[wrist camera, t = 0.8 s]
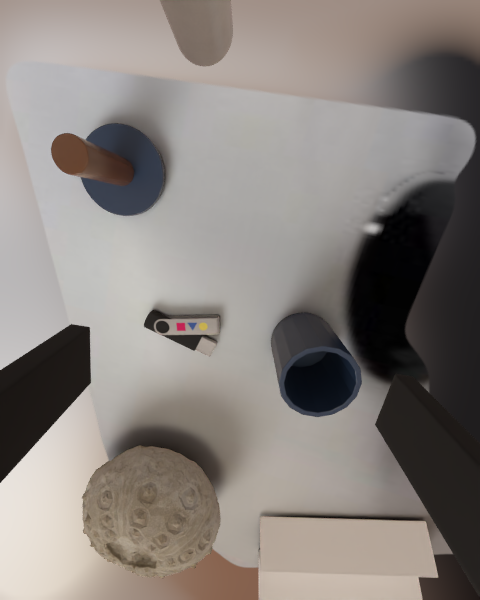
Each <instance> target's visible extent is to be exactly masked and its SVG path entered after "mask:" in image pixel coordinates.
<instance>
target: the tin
mask: <svg viewBox="0 0 480 600" xmlns="http://www.w3.org/2000/svg"><path fill="white" fill-rule="evenodd" d="M271 347H272V352H273V357H274V362H275V367H276V373H277V378H278V383H279V388H280V393H281V396H282V398H283V399H284V401H285V402H286V403H287V405H288V406H289V407H290V408H292V409H293V410H295V411H297V412H299V413H301V414H303V415H308V416H315V417H320V416H326V415H332V414H335V413H337V412H338V411H340V410H342V409H344V408H346V407H347V406H348V405H349V404H350V403H351V402H352V401H353V400H354V399H355V398H356V397H357V394H358V392H359V389H360V386H361V384H362V380H361V370H360V367H359V366H358V364H357V363H356V361H355V360H354V358H353V357H352V355H351V354H350V353H349V351H348V350H347V349H346V347H345V346H344V345H343V343H342V342H341V341H340V339H339V338H338V336H337V335H336V334H335V332H334V331H333V330H332V328H331V327H330V326H329V324H328V323H327V322H326V321H325V320H323V319H322V318H321V317H319V316H317V315H314V314H311V313H297V314H293V315H290V316H288V317H286V318H285V319H283V320H282V321H281V322H280V323H279V324H278V325H277V326H276V328H275V329H274V332H273V334H272V338H271Z"/></svg>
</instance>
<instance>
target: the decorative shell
mask: <svg viewBox="0 0 480 600" xmlns="http://www.w3.org/2000/svg"><path fill="white" fill-rule="evenodd" d="M82 498H83V522H84V530H83V533H84V534H87V536H88V537H89V538H90V541H91V547H94V548H95V550H96V551H97V552H98V553H99V554H100V555H101V556H102V557H103V558H104V559H107V561H108V562H112V563H115V564H118V565H119V566H121V567H125V569H127V570H128V571H132V573H136V574H137V575H138V576H145V577H156V576H159V577H160V578H162V579H163V578H164V577H165V576H167V575H172V574H174V573H179V572H181V571H183V570H185V569H188V568H190V567H192V568H195V567H196V564H197V563H198V562H199V561H200V560H202V559H203V558H204V557H205V556H206V554H211V551H212V545H213V543H214V542H215V539H216V535H217V533H218V529H219V527H220V510H219V503H218V501H217V496H216V494H215V491H214V489H213V486H212V485H211V483H210V481H209V479H208V477H207V475H206V474H205V473H204V472H203V470H202V468H201V467H200V466H198V465H197V463H196V462H194V461H191V460H189V459H187V458H186V457H185V456H183V455H182V454H180V453H176V452H174V451H172V450H170V449H166V448H158V447H153V446H149V447H143V446H141V445H140V446H137V447H135V448H133V449H128V450H127V451H125V452H124V453H121V454H120V455H118V456H116V457H115V458H114V459H113V460H112V461H108V462H107V463H105V464H104V465H102V466H101V467H100V468H98V469H97V470H96V471H95V472H94V474H93V475H92V477H91V478H90V481H89V483H88V485H87V488H86V491H85V493H84V494H83V497H82Z"/></svg>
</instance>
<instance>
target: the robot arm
mask: <svg viewBox="0 0 480 600" xmlns="http://www.w3.org/2000/svg"><path fill="white" fill-rule="evenodd" d="M90 383H91V370H90V327H85V326H79V325H72V324H71V325H69V326H68V327H66V328H65V329H63V330H62V331H60V332H59V333H57V334H56V335H54V336H53V337H51V338H49V339H48V340H46V341H45V342H43V343H42V344H40V345H39V346H37V347H36V348H34V349H33V350H31V351H29V352H28V353H26V354H25V355H23V356H22V357H20V358H19V359H17V360H16V361H14V362H13V363H11V364H9V365H8V366H6V367H5V368H3V369H2V370H0V483H1V481H2V480H3V479H4V478H5V477H6V476H7V475H8V474H9V473H10V471H11V470H12V469H13V468H14V467H15V466H16V465H17V464H18V463H19V462H20V461H21V459H22V458H23V457H24V456H25V455H26V454H27V453H28V452H29V451H30V449H31V448H32V447H33V446H34V445H35V444H36V443H37V442H38V441H39V439H40V438H41V437H42V436H43V435H44V434H45V433H46V432H47V430H49V428H50V427H51V426H52V425H53V424H54V423H55V422H56V421H57V419H58V418H59V417H60V416H61V415H62V414H63V413H64V412H65V411H66V410H67V408H68V407H69V406H70V405H71V404H72V403H73V402H74V401H75V400H76V399H77V397H78V396H79V395H80V394H81V393H82V392H83V391H84V390H85V388H86V387H87V386H88V385H89V384H90ZM375 425H376V427H377V428H378V430H379V432H380V433H381V435H382V437H383V438H384V440H385V442H386V443H387V445H388V447H389V448H390V450H391V451H392V453H393V455H394V456H395V458H396V460H397V461H398V463H399V465H400V466H401V468H402V470H403V471H404V473H405V475H406V476H407V478H408V480H409V481H410V483H411V485H412V486H413V488H414V490H415V491H416V493H417V495H418V496H419V498H420V499H421V501H422V503H423V504H424V506H425V508H426V509H427V511H428V513H429V514H430V516H431V518H432V519H433V521H434V523H435V524H436V526H437V528H438V529H439V531H440V533H441V534H442V536H443V538H444V539H445V541H446V542H447V544H448V546H449V547H450V549H451V551H452V552H453V554H454V556H455V557H456V559H457V561H458V562H459V564H460V566H461V567H462V569H463V570H464V572H465V574H466V576H467V577H468V579H469V581H470V582H471V583H472V586H473V587H474V589H475V590H476V592H477V594H478V595H479V597H480V443H479V442H478V441H477V440H476V439H475V438H474V437H473V436H472V435H470V433H469V432H468V431H467V430H466V429H465V428H464V427H463V426H462V425H461V424H460V423H459V422H458V421H457V420H456V419H455V418H453V416H452V415H451V414H450V413H449V412H448V411H447V410H446V409H445V408H444V407H442V405H441V404H440V403H439V402H438V401H437V400H436V399H434V397H433V396H432V395H431V394H430V393H429V392H428V391H427V390H426V389H425V388H424V387H423V386H422V385H421V384H420V383H419V382H418V381H417V380H416V379H415V378H414V377H412V376H406V375H399V374H395V376H394V379H393V381H392V384H391V386H390V389H389V391H388V394H387V396H386V399H385V401H384V404H383V406H382V409H381V411H380V414H379V416H378V419H377V421H376V424H375Z"/></svg>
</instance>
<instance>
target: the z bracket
mask: <svg viewBox="0 0 480 600" xmlns="http://www.w3.org/2000/svg"><path fill="white" fill-rule="evenodd" d="M258 557H259V600H423V599H422V594H421V589H420V584H419V579H418V577H435V578H438V574H437V569H436V565H435V561H434V556H433V551H432V547H431V542H430V538H429V533H428V529H427V524H426V522H425V521H408V520H374V519H340V518H305V517H271V516H260V551H258Z"/></svg>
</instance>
